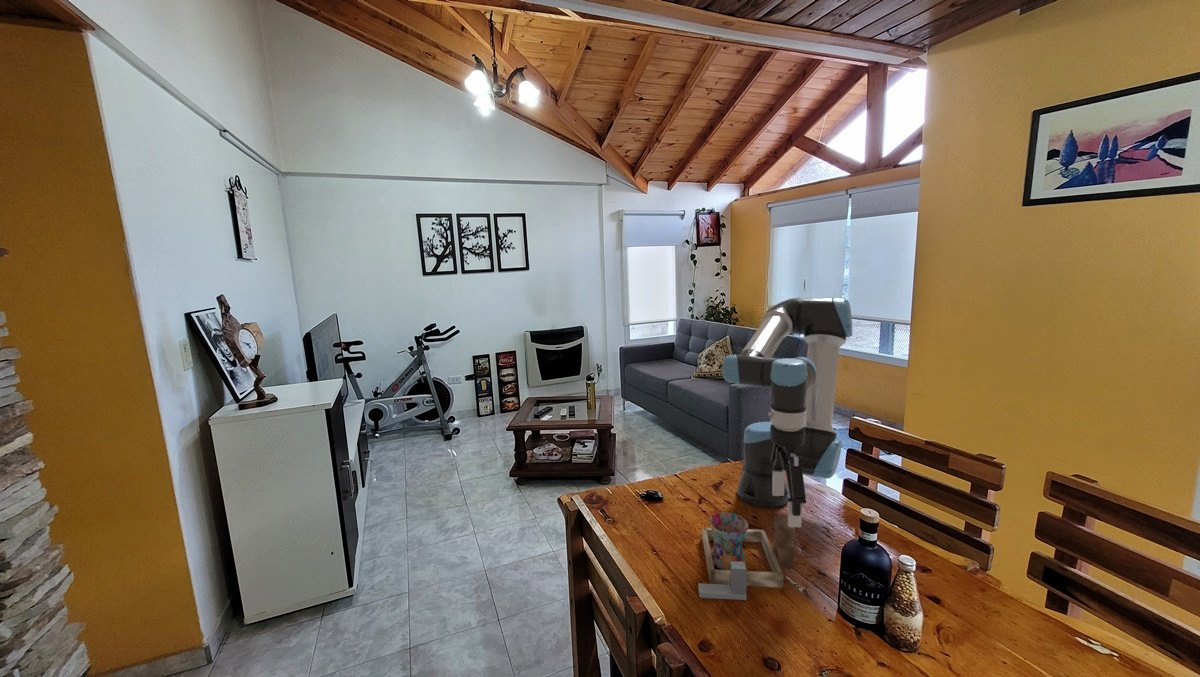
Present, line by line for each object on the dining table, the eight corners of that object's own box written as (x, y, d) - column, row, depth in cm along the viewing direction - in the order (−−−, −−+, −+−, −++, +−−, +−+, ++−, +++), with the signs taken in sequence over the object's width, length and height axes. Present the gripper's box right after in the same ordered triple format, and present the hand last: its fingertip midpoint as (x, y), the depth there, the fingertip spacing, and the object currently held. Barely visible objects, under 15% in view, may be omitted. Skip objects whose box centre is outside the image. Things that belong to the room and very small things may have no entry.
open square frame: (780, 540, 118) (781, 501, 117) (802, 588, 101) (804, 543, 99) (702, 538, 121) (702, 499, 119) (710, 584, 103) (710, 540, 101)
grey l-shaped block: (743, 590, 101) (744, 561, 100) (746, 600, 98) (746, 569, 97) (698, 588, 102) (698, 559, 101) (699, 597, 99) (699, 567, 98)
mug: (737, 580, 104) (738, 538, 102) (701, 564, 110) (701, 524, 108) (758, 554, 113) (758, 515, 111) (723, 541, 119) (723, 504, 117)
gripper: (758, 408, 117) (757, 484, 121) (786, 447, 93) (784, 541, 96) (788, 408, 116) (787, 484, 120) (824, 447, 92) (821, 542, 95)
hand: (785, 509), depth 108 cm, fingers open, 13 cm apart
